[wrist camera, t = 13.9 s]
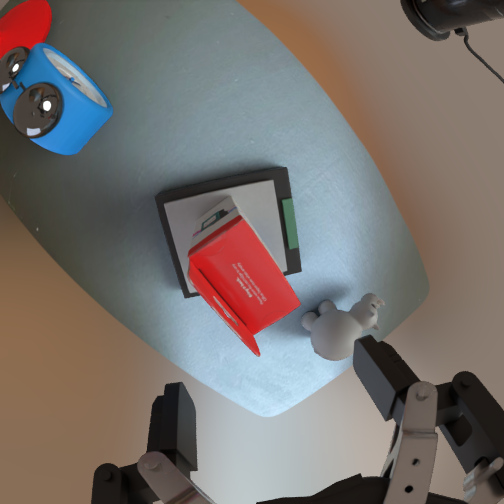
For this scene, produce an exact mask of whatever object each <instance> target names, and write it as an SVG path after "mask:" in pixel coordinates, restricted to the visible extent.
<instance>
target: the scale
mask: <svg viewBox="0 0 504 504" xmlns="http://www.w3.org/2000/svg"><path fill="white" fill-rule="evenodd" d="M229 196H232V197H233V198H234V200H235V201H236V203H237V204H238V205H239V207H240V208H241V210H242V211H243V213H244V214H245V215H246V217H247V218H248V220H249V221H250V223H251V224H252V225H253V227H254V228H255V230H256V231H257V233H258V234H259V236H260V237H261V239H262V240H263V241H264V243H265V244H266V246H267V247H268V249H269V250H270V252H271V253H272V255H273V257H274V259H275V260H276V262H277V264H278V266H279V267H280V269H281V271H282V272H283V274H284V276H286V275H290V274H294V273H298V272H302V269H301V261H300V252H299V243H298V236H297V228H296V221H295V214H294V207H293V200H292V195H291V188H290V182H289V175H288V169H287V167H276V168H270V169H264V170H259V171H254V172H248V173H243V174H238V175H234V176H229V177H224V178H219V179H215V180H210V181H206V182H202V183H197V184H193V185H189V186H185V187H181V188H177V189H173V190H169V191H166V192H162V193H159V194H157V195H156V196H155V200H156V204H157V208H158V212H159V216H160V219H161V223H162V227H163V230H164V234H165V237H166V241H167V244H168V247H169V251H170V254H171V257H172V261H173V264H174V267H175V270H176V274H177V277H178V280H179V283H180V286H181V289H182V292H183V295H184V298H190V297H195V296H199V295H200V294H199V293H198V291H197V290H196V289H195V288H194V287H193V286H192V285H191V283H190V282H189V280H188V278H187V272H188V265H189V261H188V258H187V255H188V252H189V248H190V244H191V240H192V235H193V231H194V227H195V222H196V220H197V219H199V218H200V217H201V216H203V215H204V214H205V213H207V212H208V211H209V210H211V209H212V208H214V207H215V206H216V205H218V204H219V203H220V202H222V201H223V200H224V199H226V198H227V197H229Z"/></svg>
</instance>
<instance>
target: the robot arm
mask: <svg viewBox="0 0 504 504" xmlns="http://www.w3.org/2000/svg"><path fill="white" fill-rule="evenodd" d="M411 3H412V6H413V9H414V11H415V12H416V14H417V15H418V17H419V18H420V19H421V21H422V22H423V23H424V24H425V25H426V26H427V27H428V28H430V29H431V30H432V31H434V32H436V33H439V34H443V33H446V32H447V31H451V30H454V31H455V33H456V34H457V35H459V36H464V35H465V37H464V43H465V45H466V47H467V48H468V50H469V51H470V52H471V53H472V54H473V55H474V56H475V57H477V58H478V59H479V60H480V61H481V62H482V63H483V64H484V65H485V66H486V67H487V68H488V69H489V70H491V72H493V73H494V74H495V75H496V76H497V77H498V78H499V79H500V80H501V81H502V82H503V83H504V79H503V78H502V77H501V76H500V75H499V74H498V73H497V72H495V71H494V70H493V69H492V68H491V67H490V66H489V65H488V64H487V63H486V62H485V61H484V60H483V59H482V58H481V57H480V56H479V55H477V54H476V53H475V52H474V51H473V50H472V48H471V47H470V46H469V44H468V42H467V41H468V32H467V29H466V26H470V25H474V24H478V23H482V22H486V21H491V20H495V19H501V18H504V0H411ZM353 367H354V370H355V372H356V374H357V376H358V377H359V379H360V381H361V382H362V384H363V385H364V387H365V389H366V390H367V392H368V393H369V395H370V396H371V398H372V400H373V402H374V403H375V405H376V406H377V408H378V410H379V411H380V413H381V414H382V416H383V418H384V420H385V421H388V420H390V419H392V418H393V419H394V420H395V422H396V424H395V427H394V431H393V436H392V440H391V444H390V448H389V452H388V455H387V459H386V461H385V464H384V466H383V469H382V472H381V475H380V477H377V476H375V477H374V476H370V477H362V476H361V474H357V475H355V476H352V477H349V478H347V479H344V480H341V481H338V482H336V483H334V484H332V485H331V486H329V487H327V488H325V489H324V490H322V491H320V492H318V493H316V494H315V495H312V496H307V497H285V498H278V499H273V500H268V501H263V502H257V503H256V504H497V503H498V502H499V501H500V500H501V499H503V498H504V411H503V409H502V408H501V406H500V405H499V404H498V403H497V402H496V400H495V399H494V398H493V396H492V395H491V394H490V393H489V392H488V391H487V389H486V388H485V386H483V384H482V383H481V382H480V380H479V379H478V378H477V377H476V376H475V375H474V374H473V373H471V372H468V371H463V372H459V373H457V374H456V375H455V376H454V378H453V380H452V382H448V383H444V384H440V385H433V384H431V383H429V382H426V381H420V380H419V378H418V377H417V376H416V375H415V374H414V372H413V371H412V370H411V369H410V367H409V366H408V365H407V364H406V363H405V361H404V360H402V358H401V357H400V356H399V354H397V352H396V351H395V350H394V348H393V347H392V346H391V345H389V344H387V343H385V342H384V341H381V342H377V341H376V340H375V339H374V338H373V336H372V335H367V336H364V337H361V338H358V339H356V340H355V341H354V353H353ZM150 422H151V423H150V427H149V435H148V445H147V451H146V453H145V454H144V455H142V456H141V458H140V459H139V461H138V462H137V463H135V464H132V465H128V466H124V467H120V468H118V467H117V466H115V465H114V464H111V463H105V464H102V465H100V466H99V467H98V468H97V469H96V470H95V473H94V479H93V488H92V500H91V504H153V502H155V501H159V500H161V501H162V502H163V503H164V504H216V503H215V502H214V501H213V500H212V499H210V497H208V496H207V495H206V494H205V493H204V492H203V491H202V490H201V489H200V488H199V487H198V486H197V485H195V483H194V482H193V481H192V480H191V479H190V471H197V470H198V468H197V445H196V410H195V406H194V403H193V400H192V399H191V397H190V395H189V393H188V392H187V390H186V388H185V386H184V384H183V383H182V382H178V383H170V384H166V385H165V390H164V395H163V396H157V398H156V399H155V401H154V403H153V405H152V411H151V419H150ZM437 426H439V428H440V430H441V431H442V433H443V435H444V436H445V438H446V440H447V441H448V443H449V445H450V446H451V448H452V450H453V451H454V453H455V455H456V456H457V458H458V460H459V461H460V463H461V465H462V467H463V469H464V471H465V473H466V474H467V475H466V477H465V479H464V482H463V490H464V491H465V497H464V500H459V499H455V498H450V497H446V496H442V495H438V494H434V493H431V492H428V491H429V487H430V482H431V477H432V473H433V468H434V462H435V456H436V450H437V442H438V434H437V433H435V427H437Z"/></svg>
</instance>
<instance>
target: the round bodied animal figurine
mask: <svg viewBox="0 0 504 504" xmlns="http://www.w3.org/2000/svg"><path fill="white" fill-rule="evenodd" d="M379 305H384V306H385V303H384V301H383V300H381V299H379V298H377V296H376V295H374V294H372V293H368V294H365V295H364V296H363V297H362V298H361V301H359V302H357V303H355V304H354V305H353V306H352V308H351V310H350V311H348V312H346V311H342V310H337V308H336V306H335V304H334V303H333V302H332V301H330V300H326V301H323V302H322V303H321V304H320V305H319V308H318V311H319V313H320V315H321V316H320V317H318V316H317V315H316V314H315V313H314V312H307V313H305V314H304V315H303V317H302V319H301V323H302V325H303V327H304V328H305V329H307V330H308V331H310V332H311V335H310V338H311V344H312V346H313V348H314V352H315V353H316V354H318V355H319V356H321V357H322V358H324V359H327V360H331V361H338V360H343V359H345V358H347V357H349V356H350V355H352V354H353V353H354V341H355V340H356V339H358V338H361V332H362V330H366V329H369V328H374V329H377V330H379V329H380V327H379V326H378V325H377V323H376V322H377V319H378V314H377V308H378V307H379Z"/></svg>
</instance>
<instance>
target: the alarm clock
mask: <svg viewBox="0 0 504 504" xmlns="http://www.w3.org/2000/svg"><path fill="white" fill-rule="evenodd" d="M0 102H1V105H2V108H3V110H4V112H5V114H6V115H7V117H8V118H9V119H10V121H11V122H12V123H13V124H14V126H15V128H16V130H17V131H18V132H19V133H20V134H21V135H22V136H24V137H26V138H29V139H30V140H32V141H33V142H35V143H36V144H38V145H40V146H41V147H43V148H45V149H47V150H49V151H52V152H55V153H58V154H62V155H73V154H76V153H78V152H79V151H80V150H81V149H82V148H83V146H84V145H85V144H86V143H87V142H88V141H89V140H90V138H91V137H92V136H93V135H94V134H95V133H96V132H97V131H98V130H99V129H100V128H101V126H102V125H103V124H104V123H105V122H106V121H107V120H108V119H109V118H110V117H111V116H112V114H113V108H112V105H111V104H110V102H109V100H108V99H107V97H106V96H105V95H104V93H103V92H102V91H101V90H100V88H99V87H98V86H97V85H96V84H95V83H94V82H93V81H92V79H91V78H90V77H89V76H88V75H87V74H86V73H85V72H84V71H83V70H82V69H80V68H79V67H78V66H77V65H76V64H75V63H74V62H73V61H72V60H70V59H69V58H68V57H67V56H65V55H64V54H63V53H61V52H60V51H59V50H57V49H55V48H54V47H52V46H50V45H48V44H46V43H37V44H35V45H34V46H33V47H32V48H31V50H30V49H29V48H28V47H26V46H17V47H15V48H12V49H11V50H9V51H8V52H7V53H6V54H4V55H3V56H2V58H1V59H0Z"/></svg>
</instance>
